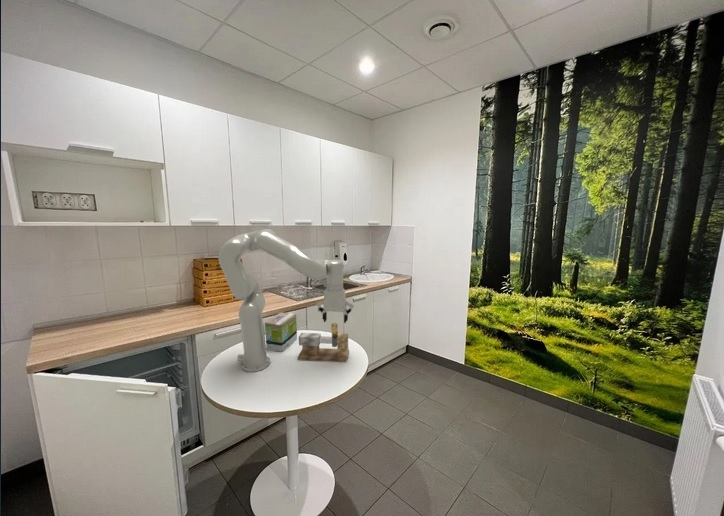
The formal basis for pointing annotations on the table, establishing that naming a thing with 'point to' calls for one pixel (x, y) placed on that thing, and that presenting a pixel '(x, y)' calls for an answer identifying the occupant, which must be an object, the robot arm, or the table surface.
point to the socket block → (342, 345)
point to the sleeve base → (317, 349)
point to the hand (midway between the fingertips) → (335, 321)
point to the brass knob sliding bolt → (332, 339)
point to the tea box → (281, 331)
